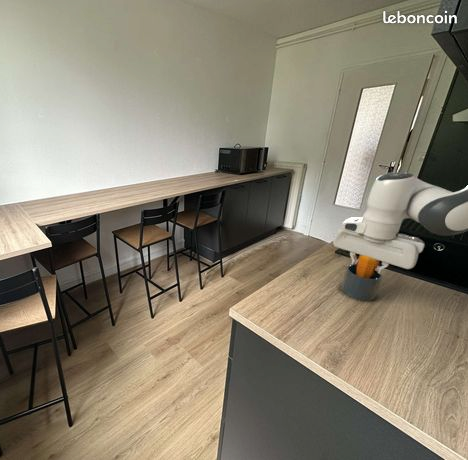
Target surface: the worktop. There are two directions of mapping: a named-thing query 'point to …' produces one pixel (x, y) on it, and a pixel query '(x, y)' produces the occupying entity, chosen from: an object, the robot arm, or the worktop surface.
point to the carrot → (366, 266)
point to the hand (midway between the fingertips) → (365, 268)
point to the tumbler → (360, 284)
